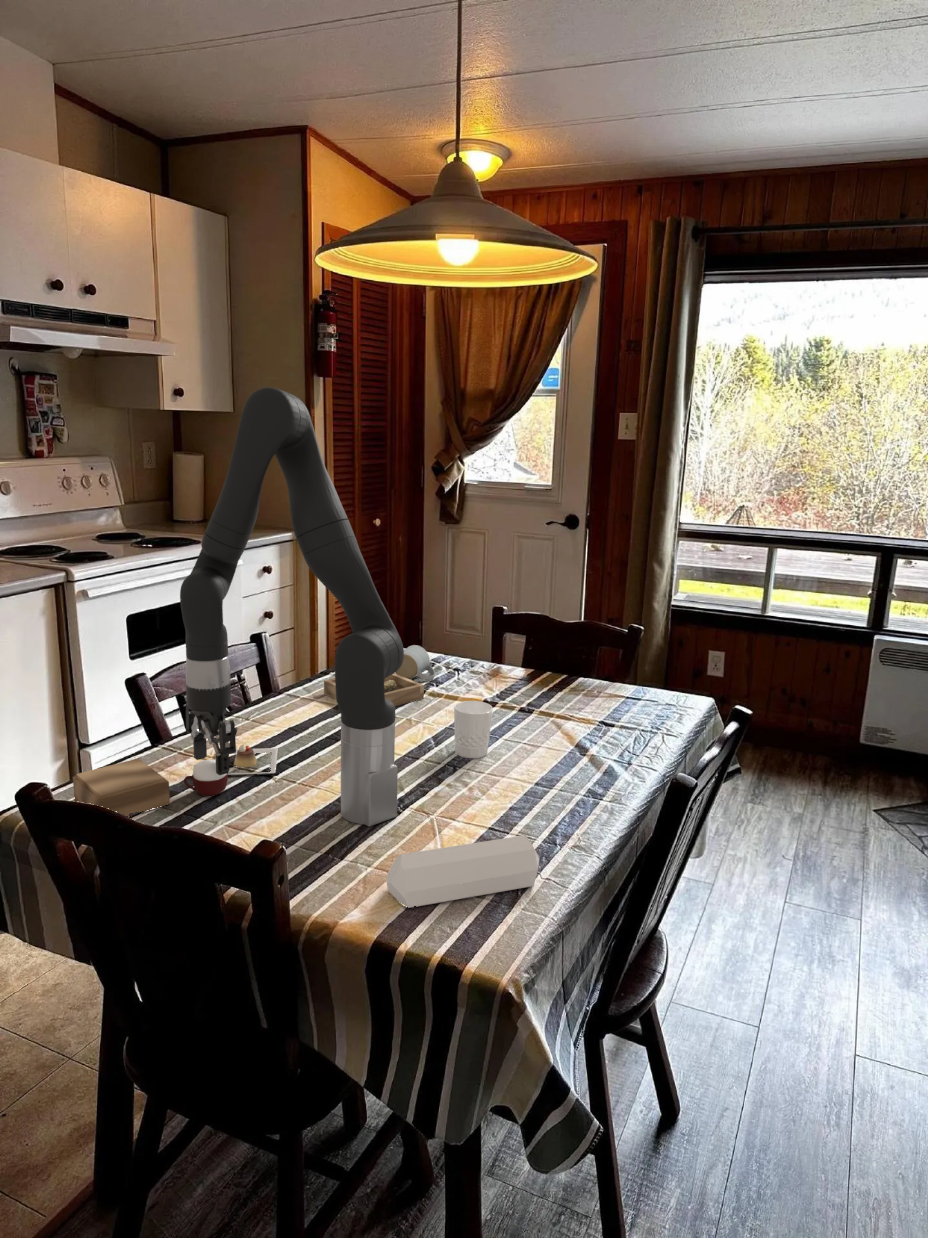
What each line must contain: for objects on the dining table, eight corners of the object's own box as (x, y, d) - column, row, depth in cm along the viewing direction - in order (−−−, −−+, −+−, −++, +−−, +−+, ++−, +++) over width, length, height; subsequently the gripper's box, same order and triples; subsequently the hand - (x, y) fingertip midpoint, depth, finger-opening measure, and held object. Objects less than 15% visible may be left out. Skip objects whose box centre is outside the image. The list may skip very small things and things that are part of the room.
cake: (388, 705, 203) (387, 685, 201) (350, 700, 206) (349, 680, 204) (404, 690, 212) (404, 670, 210) (368, 685, 215) (368, 665, 213)
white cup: (444, 751, 175) (446, 706, 172) (470, 742, 181) (472, 698, 178) (472, 763, 170) (474, 716, 167) (498, 753, 175) (500, 707, 173)
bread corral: (423, 698, 206) (424, 685, 205) (366, 713, 195) (366, 699, 194) (380, 680, 218) (380, 667, 218) (324, 694, 207) (324, 680, 206)
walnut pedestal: (170, 804, 147) (168, 778, 146) (100, 825, 139) (98, 798, 138) (141, 781, 156) (140, 756, 155) (74, 800, 148) (72, 773, 147)
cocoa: (181, 798, 151) (174, 737, 148) (198, 783, 157) (192, 723, 153) (231, 802, 149) (225, 740, 146) (246, 786, 155) (240, 726, 152)
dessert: (278, 753, 172) (277, 731, 171) (275, 778, 161) (275, 754, 160) (217, 755, 170) (216, 733, 169) (210, 780, 159) (209, 757, 158)
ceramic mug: (391, 678, 221) (392, 650, 219) (403, 670, 228) (404, 642, 226) (428, 684, 217) (429, 656, 215) (440, 676, 225) (441, 648, 223)
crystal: (397, 897, 116) (553, 870, 124) (385, 851, 121) (537, 829, 129) (389, 923, 121) (540, 896, 129) (378, 878, 125) (525, 855, 134)
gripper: (247, 686, 145) (250, 773, 149) (209, 666, 155) (212, 748, 159) (207, 695, 140) (210, 785, 144) (169, 674, 150) (174, 758, 154)
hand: (211, 765), depth 152 cm, fingers open, 8 cm apart
